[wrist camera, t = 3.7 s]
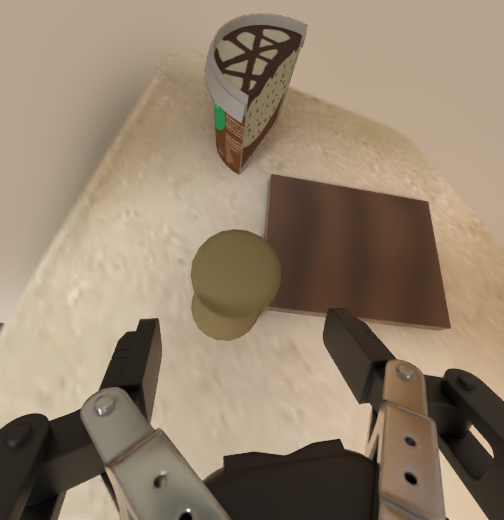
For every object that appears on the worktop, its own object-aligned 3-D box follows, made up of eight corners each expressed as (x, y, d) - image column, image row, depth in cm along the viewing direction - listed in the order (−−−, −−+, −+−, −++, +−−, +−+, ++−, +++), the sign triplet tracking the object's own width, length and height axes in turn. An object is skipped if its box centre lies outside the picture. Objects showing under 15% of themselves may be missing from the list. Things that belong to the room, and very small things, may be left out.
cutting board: (258, 309, 25) (262, 306, 23) (268, 182, 30) (271, 173, 29) (438, 330, 27) (451, 328, 25) (418, 208, 32) (428, 201, 31)
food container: (238, 92, 34) (251, -9, 25) (281, 115, 34) (310, 22, 25) (182, 156, 29) (172, 61, 20) (232, 183, 29) (244, 100, 20)
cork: (206, 352, 23) (206, 342, 13) (181, 287, 24) (164, 232, 14) (270, 323, 24) (315, 294, 14) (243, 264, 26) (267, 200, 16)
